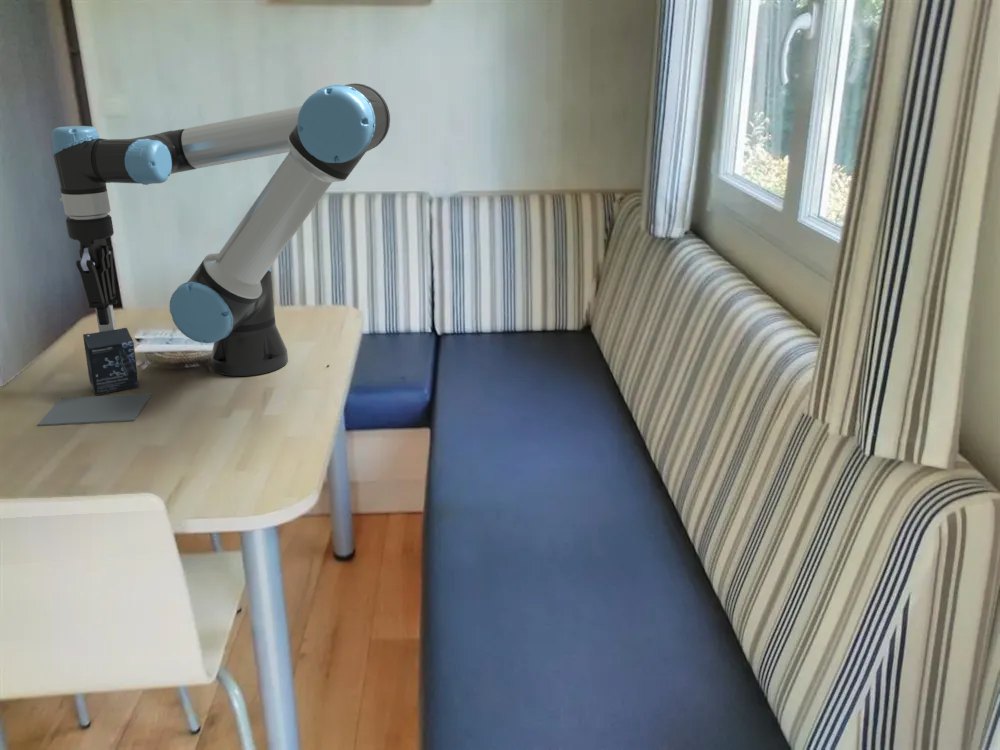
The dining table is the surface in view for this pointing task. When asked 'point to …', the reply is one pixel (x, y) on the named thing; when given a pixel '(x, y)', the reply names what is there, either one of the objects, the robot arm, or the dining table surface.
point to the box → (111, 361)
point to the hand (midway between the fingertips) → (109, 338)
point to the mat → (95, 409)
